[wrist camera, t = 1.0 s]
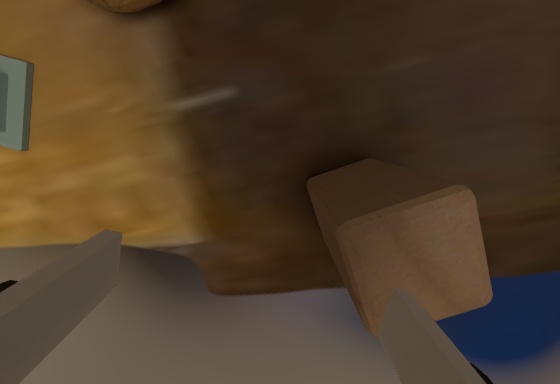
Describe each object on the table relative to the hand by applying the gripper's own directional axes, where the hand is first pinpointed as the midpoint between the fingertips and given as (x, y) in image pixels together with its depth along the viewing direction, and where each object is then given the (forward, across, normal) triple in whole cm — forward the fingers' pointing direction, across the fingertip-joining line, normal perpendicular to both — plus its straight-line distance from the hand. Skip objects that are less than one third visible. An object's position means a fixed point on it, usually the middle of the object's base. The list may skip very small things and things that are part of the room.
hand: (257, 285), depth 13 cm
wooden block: (+26, +12, 0) cm, 28 cm away
